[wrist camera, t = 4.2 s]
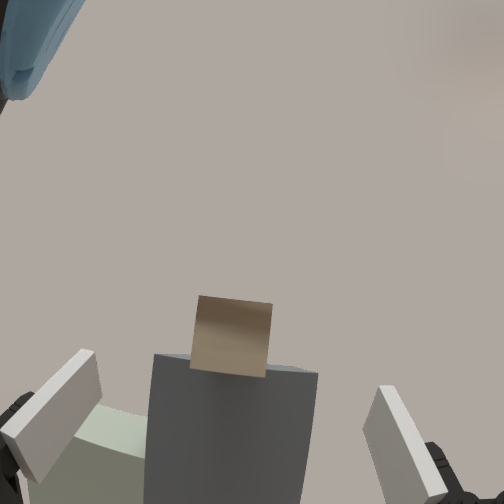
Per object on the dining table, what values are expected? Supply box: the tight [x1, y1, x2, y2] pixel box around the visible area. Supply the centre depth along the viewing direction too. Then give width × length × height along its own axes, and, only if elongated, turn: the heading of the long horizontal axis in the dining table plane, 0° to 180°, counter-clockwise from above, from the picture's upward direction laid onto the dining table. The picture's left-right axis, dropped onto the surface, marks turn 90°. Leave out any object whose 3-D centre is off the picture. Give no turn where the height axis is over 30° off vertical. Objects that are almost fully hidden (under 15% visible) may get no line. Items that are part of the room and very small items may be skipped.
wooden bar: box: [190, 296, 273, 377], centre depth 28 cm, size 24×4×4 cm, turn 1°
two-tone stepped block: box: [27, 354, 318, 504], centre depth 28 cm, size 16×28×30 cm, turn 90°
